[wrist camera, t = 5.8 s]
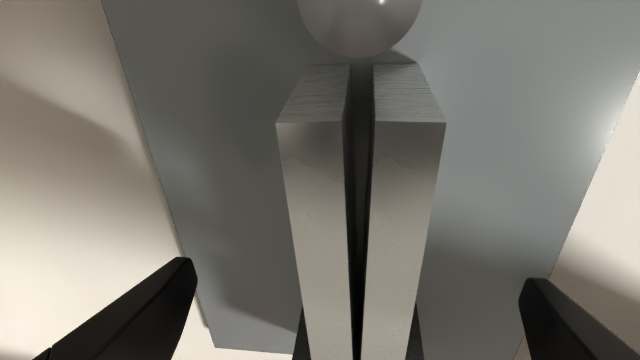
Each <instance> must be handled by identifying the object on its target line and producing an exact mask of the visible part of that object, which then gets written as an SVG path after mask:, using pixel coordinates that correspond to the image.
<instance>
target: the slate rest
mask: <svg viewBox="0 0 640 360" xmlns="http://www.w3.org/2000/svg"><path fill="white" fill-rule="evenodd" d="M101 3H102V6H103V9H104V12H105V15H106V18H107V21H108V24H109V27H110V30H111V33H112V36H113V39H114V42H115V45H116V48H117V51H118V54H119V57H120V60H121V63H122V66H123V69H124V72H125V76H126V79H127V82H128V85H129V88H130V91H131V94H132V97H133V100H134V103H135V106H136V109H137V112H138V115H139V118H140V121H141V124H142V127H143V130H144V133H145V136H146V139H147V142H148V145H149V149H150V152H151V155H152V158H153V161H154V164H155V167H156V170H157V173H158V176H159V179H160V182H161V185H162V188H163V191H164V194H165V197H166V200H167V203H168V206H169V209H170V212H171V215H172V218H173V221H174V225H175V228H176V231H177V234H178V237H179V240H180V243H181V246H182V249H183V252H184V255H185V257H189V258H191V259H192V261H193V264H194V267H195V271H196V274H197V277H198V284H197V288H196V291H197V294H198V298H199V301H200V304H201V307H202V310H203V313H204V316H205V319H206V322H207V325H208V328H209V331H210V334H211V337H212V340H213V343H214V346H215V348H225V349H236V350H248V351H259V352H270V353H282V354H293V352H294V346H295V341H296V336H297V331H298V325H299V320H300V315H301V309H302V304H303V302H302V295H301V289H300V282H299V276H298V269H297V263H296V256H295V250H294V243H293V236H292V230H291V223H290V217H289V210H288V204H287V197H286V191H285V184H284V178H283V171H282V164H281V158H280V151H279V145H278V138H277V132H276V125H275V122H276V121H277V119H278V117H279V115H280V113H281V112H282V110H283V108H284V106H285V105H286V103H287V101H288V99H289V97H290V96H291V94H292V92H293V90H294V88H295V87H296V85H297V83H298V81H299V80H300V78H301V76H302V74H303V72H304V71H305V69H306V67H307V66H314V65H335V64H351V90H352V125H353V159H354V193H355V227H356V261H357V295H358V329H359V320H360V301H361V282H362V263H363V244H364V225H365V206H366V187H367V168H368V149H369V130H370V111H371V92H372V73H373V63H419V65H420V67H421V69H422V71H423V74H424V76H425V78H426V80H427V82H428V84H429V86H430V88H431V90H432V92H433V94H434V97H435V99H436V101H437V103H438V105H439V107H440V109H441V111H442V113H443V115H444V118H445V120H446V122H447V125H446V131H445V136H444V142H443V147H442V153H441V159H440V164H439V170H438V176H437V181H436V187H435V193H434V198H433V204H432V210H431V215H430V221H429V227H428V232H427V238H426V243H425V249H424V255H423V260H422V266H421V272H420V277H419V283H418V289H417V294H416V300H415V303H417V311H418V318H419V325H420V332H421V339H422V346H423V353H424V360H513V359H514V357H515V354H516V352H517V350H518V347H519V345H520V343H521V341H522V338H523V336H524V334H525V331H524V327H523V323H522V319H521V315H520V311H519V307H518V298H519V295H520V293H521V290H522V288H523V285H524V283H525V280H526V279H527V278H528V277H541V278H546V279H549V277H550V274H551V272H552V270H553V267H554V265H555V263H556V261H557V258H558V256H559V254H560V251H561V249H562V247H563V245H564V242H565V240H566V238H567V235H568V233H569V231H570V229H571V226H572V224H573V222H574V219H575V217H576V215H577V213H578V210H579V208H580V206H581V203H582V201H583V199H584V197H585V194H586V192H587V190H588V187H589V185H590V183H591V181H592V178H593V176H594V174H595V171H596V169H597V167H598V165H599V162H600V160H601V158H602V155H603V153H604V151H605V149H606V146H607V144H608V142H609V139H610V137H611V135H612V133H613V130H614V128H615V126H616V123H617V121H618V119H619V117H620V114H621V112H622V110H623V107H624V105H625V103H626V101H627V98H628V96H629V94H630V91H631V89H632V87H633V85H634V82H635V80H636V78H637V75H638V73H639V71H640V0H101Z"/></svg>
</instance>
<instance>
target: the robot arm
mask: <svg viewBox="0 0 640 360" xmlns="http://www.w3.org/2000/svg"><path fill="white" fill-rule="evenodd" d="M197 284H198V277H197V274H196V271H195V267H194V264H193V261H192V259H191V258H189V257H176V258H174V259H172V260H171V261H169V262H168V263H167V264H165V265H164V266H162V267H161V268H160V269H158V270H157V271H155V272H154V273H153V274H151V275H150V276H148V277H147V278H146V279H144V280H143V281H141V282H140V283H139V284H137V285H136V286H135V287H133V288H132V289H130V290H129V291H128V292H126V293H125V294H123V295H122V296H121V297H119V298H118V299H116V300H115V301H114V302H112V303H111V304H109V305H108V306H107V307H105V308H104V309H102V310H101V311H100V312H98V313H97V314H95V315H94V316H93V317H91V318H90V319H88V320H87V321H86V322H84V323H83V324H81V325H80V326H79V327H77V328H76V329H74V330H73V331H72V332H70V333H69V334H67V335H66V336H65V337H63V338H62V339H60V340H59V341H58V342H56V343H55V344H53V345H52V348H51V347H50V348H48V349H46V350H45V351H44V352H42V353H41V354H39V355H38V356H37V357H35V358H34V359H32V360H171V359H172V356H173V354H174V352H175V349H176V347H177V345H178V342H179V340H180V337H181V335H182V332H183V329H184V326H185V323H186V320H187V316H188V313H189V310H190V307H191V304H192V301H193V297H194V294H195V291H196V288H197ZM518 307H519V311H520V315H521V319H522V323H523V327H524V331H525V335H526V339H527V343H528V347H529V352H530V356H531V359H532V360H640V354H638V353H637V352H636V351H635V350H633V349H632V348H631V347H630V346H629V345H627V344H626V343H625V342H624V341H622V340H621V339H620V338H619V337H618V336H616V335H615V334H614V333H613V332H611V331H610V330H609V329H608V328H607V327H605V326H604V325H603V324H602V323H600V322H599V321H598V320H597V319H596V318H594V317H593V316H592V315H591V314H589V313H588V312H587V311H586V310H585V309H583V308H582V307H581V306H580V305H578V304H577V303H576V302H575V301H574V300H572V299H571V298H570V297H569V296H567V295H566V294H565V293H564V292H563V291H561V290H560V289H559V288H558V287H556V286H555V285H554V284H553V283H552V282H550V281H549V280H548V279H546V278H541V277H528V278H527V279H526V280H525V283H524V285H523V288H522V290H521V293H520V295H519V298H518Z"/></svg>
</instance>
